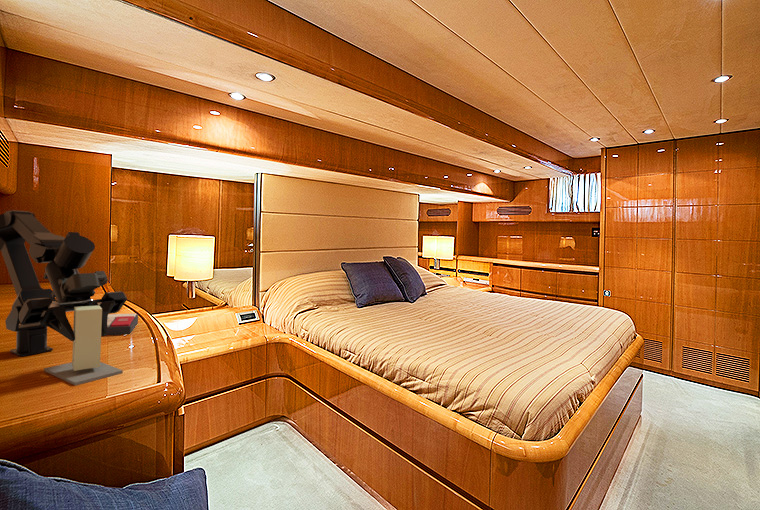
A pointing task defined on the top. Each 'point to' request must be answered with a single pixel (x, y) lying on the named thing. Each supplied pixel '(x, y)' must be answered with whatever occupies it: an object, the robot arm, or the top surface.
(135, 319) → the black red white box
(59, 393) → the top surface
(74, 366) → the block
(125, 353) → the top surface
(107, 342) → the top surface
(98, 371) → the mat
